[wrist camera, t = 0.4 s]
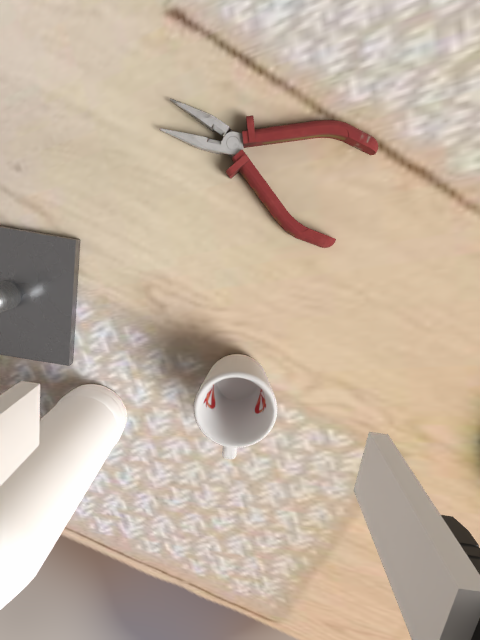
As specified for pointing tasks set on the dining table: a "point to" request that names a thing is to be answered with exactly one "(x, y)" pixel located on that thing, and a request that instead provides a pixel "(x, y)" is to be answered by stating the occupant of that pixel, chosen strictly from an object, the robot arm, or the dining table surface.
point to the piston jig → (38, 295)
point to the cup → (235, 404)
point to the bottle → (54, 480)
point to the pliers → (265, 136)
